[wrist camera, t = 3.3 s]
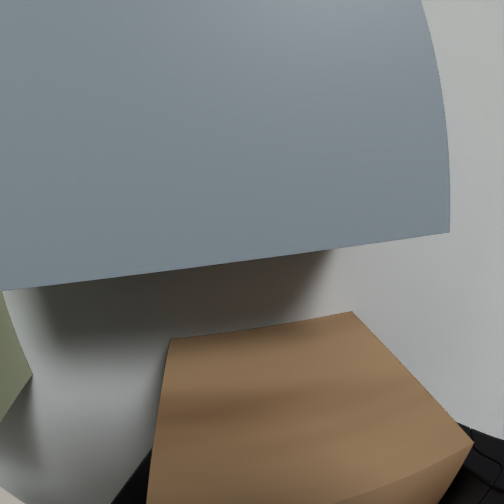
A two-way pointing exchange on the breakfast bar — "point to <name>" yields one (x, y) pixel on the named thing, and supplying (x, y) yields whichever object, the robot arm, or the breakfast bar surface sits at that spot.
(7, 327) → the olive cube
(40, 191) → the base block
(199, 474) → the walnut cube
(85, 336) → the breakfast bar surface
